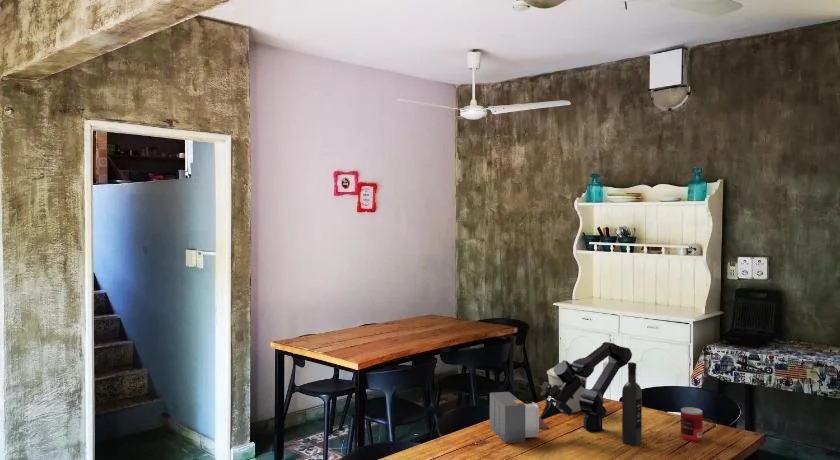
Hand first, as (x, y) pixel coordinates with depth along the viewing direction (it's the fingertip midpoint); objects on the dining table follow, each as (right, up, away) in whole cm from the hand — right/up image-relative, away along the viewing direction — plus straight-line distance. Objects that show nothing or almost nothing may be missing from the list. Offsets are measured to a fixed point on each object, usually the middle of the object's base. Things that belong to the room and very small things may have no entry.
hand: (541, 418), depth 240 cm
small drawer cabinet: (-13, -7, +4) cm, 15 cm away
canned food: (+57, -8, -1) cm, 58 cm away
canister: (+19, -7, +37) cm, 42 cm away
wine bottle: (+33, -7, -6) cm, 34 cm away
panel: (-6, -6, -1) cm, 9 cm away
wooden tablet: (0, -8, +23) cm, 25 cm away
